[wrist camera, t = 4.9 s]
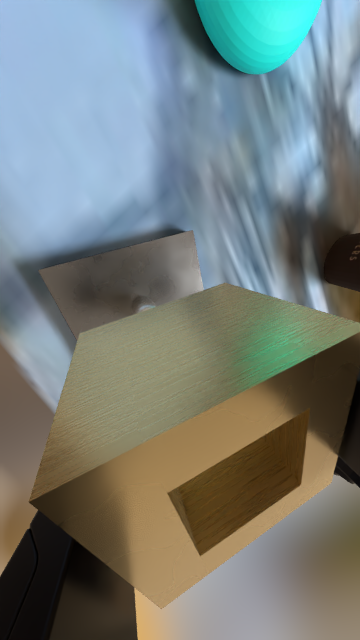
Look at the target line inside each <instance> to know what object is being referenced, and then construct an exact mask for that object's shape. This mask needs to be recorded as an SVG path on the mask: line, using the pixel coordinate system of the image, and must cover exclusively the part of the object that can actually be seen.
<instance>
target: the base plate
mask: <svg viewBox="0 0 360 640" xmlns="http://www.w3.org/2000/svg"><path fill="white" fill-rule="evenodd" d="M38 271H39V273H40V275H41V277H42V278H43V280H44V282H45V284H46V286H47V287H48V289H49V291H50V293H51V295H52V296H53V298H54V300H55V302H56V304H57V306H58V307H59V309H60V311H61V313H62V315H63V316H64V318H65V320H66V322H67V324H68V325H69V327H70V329H71V331H72V333H73V335H74V336H75V338H76V340H78V337H79V334H80V333H82V332H85V331H88V330H91V329H93V328H96V327H99V326H102V325H105V324H108V323H111V322H114V321H116V320H119V319H122V318H125V317H128V316H131V315H134V314H137V313H140V312H142V311H145V310H148V309H151V308H154V307H157V306H160V305H163V304H166V303H168V302H171V301H174V300H177V299H180V298H183V297H186V296H189V295H192V294H194V293H197V292H200V291H203V284H202V278H201V273H200V267H199V261H198V256H197V250H196V244H195V239H194V233H193V230H191V231H186V232H182V233H179V234H175V235H171V236H167V237H163V238H159V239H155V240H151V241H148V242H144V243H140V244H136V245H132V246H128V247H124V248H120V249H117V250H113V251H109V252H105V253H101V254H97V255H93V256H89V257H86V258H82V259H78V260H74V261H70V262H66V263H62V264H58V265H55V266H51V267H47V268H43V269H40V270H38Z"/></svg>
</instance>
